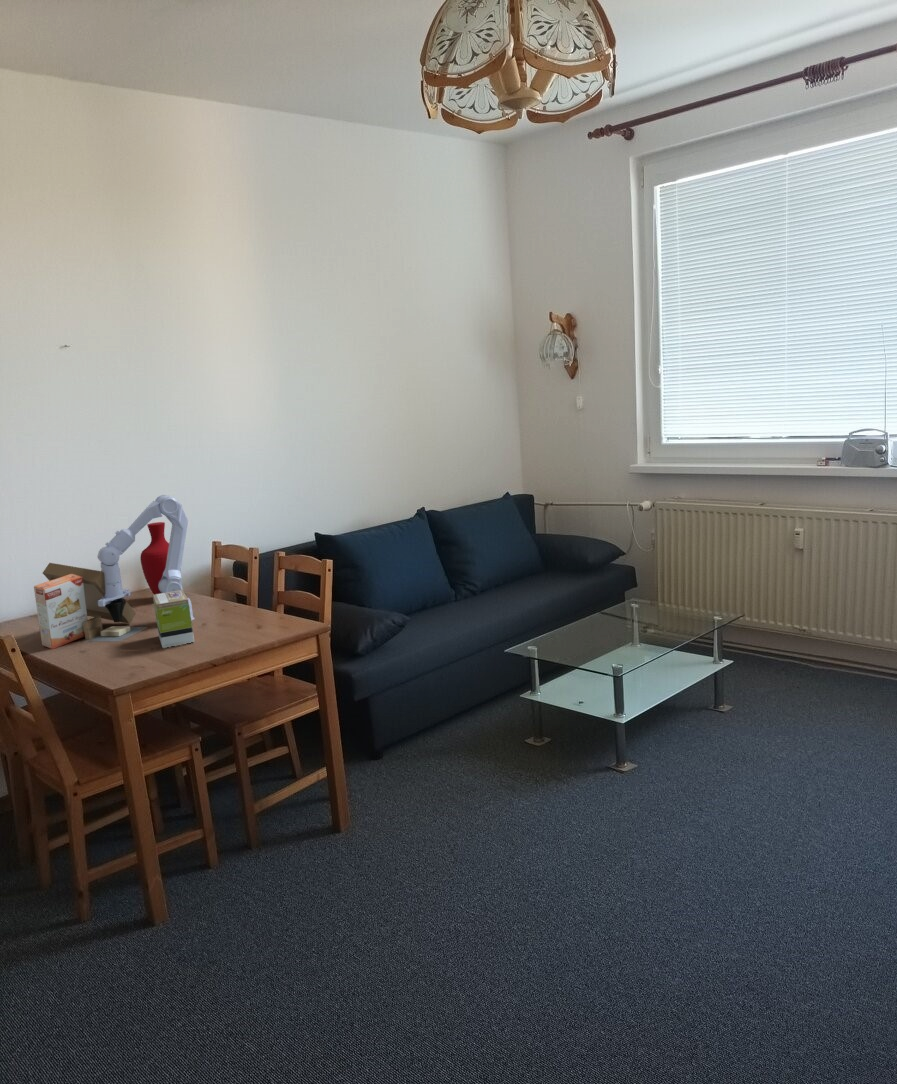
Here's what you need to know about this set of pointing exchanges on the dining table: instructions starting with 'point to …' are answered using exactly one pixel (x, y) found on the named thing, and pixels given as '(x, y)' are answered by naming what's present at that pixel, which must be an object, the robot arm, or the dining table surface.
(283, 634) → the dining table surface
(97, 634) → the tile plain
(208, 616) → the dining table surface
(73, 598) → the cracker box
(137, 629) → the felt mat
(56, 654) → the dining table surface
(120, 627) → the tile teal
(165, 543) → the vase
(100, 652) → the dining table surface
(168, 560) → the robot arm
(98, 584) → the photo frame
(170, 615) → the tea box
